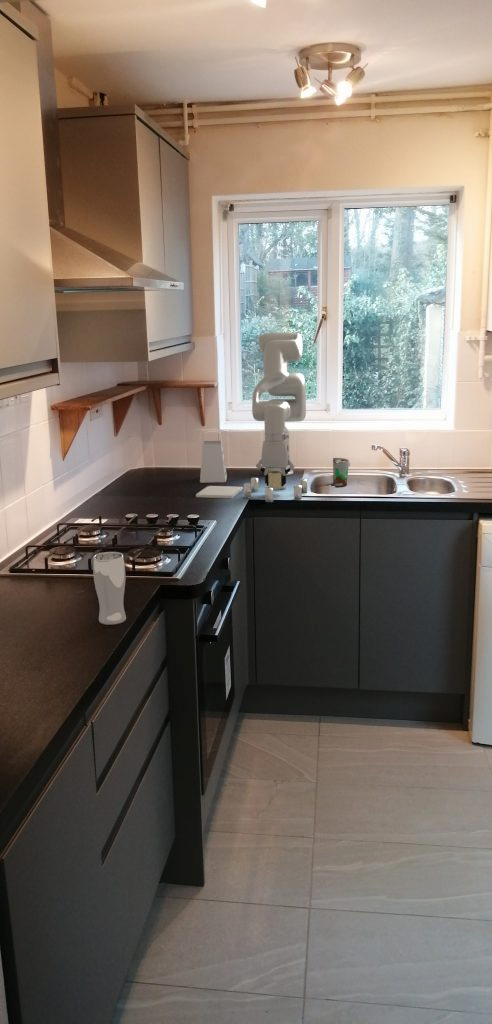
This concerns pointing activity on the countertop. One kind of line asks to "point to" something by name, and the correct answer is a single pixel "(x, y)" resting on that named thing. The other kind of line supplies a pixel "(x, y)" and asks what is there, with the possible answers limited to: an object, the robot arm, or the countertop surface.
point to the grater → (212, 461)
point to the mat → (219, 492)
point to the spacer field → (269, 490)
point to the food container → (340, 472)
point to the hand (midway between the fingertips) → (275, 484)
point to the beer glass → (110, 586)
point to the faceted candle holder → (274, 479)
